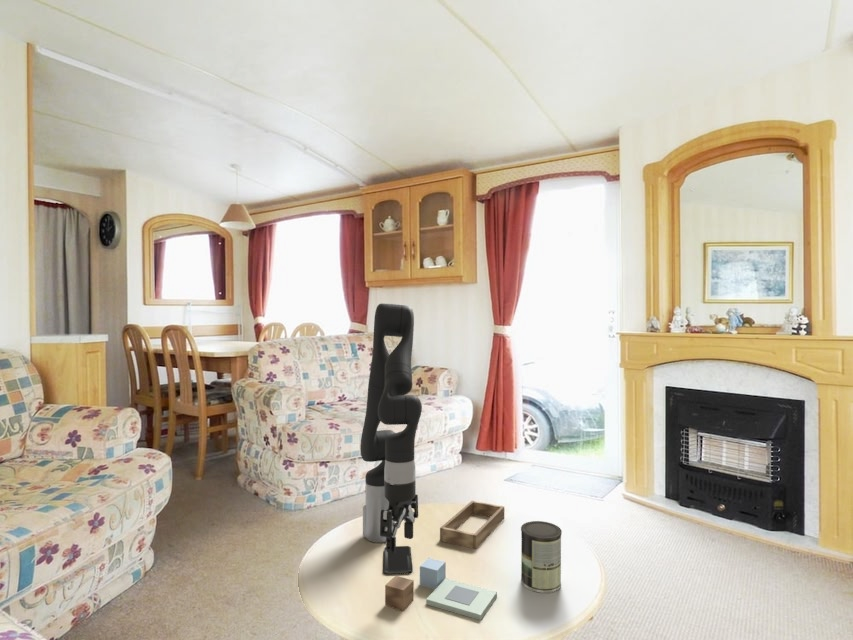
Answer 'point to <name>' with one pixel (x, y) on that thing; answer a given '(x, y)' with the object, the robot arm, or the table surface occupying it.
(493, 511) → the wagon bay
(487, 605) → the plate
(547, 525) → the coffee can
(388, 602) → the walnut block
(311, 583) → the table surface
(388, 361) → the robot arm
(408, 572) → the phone
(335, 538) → the table surface
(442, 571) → the blue block
